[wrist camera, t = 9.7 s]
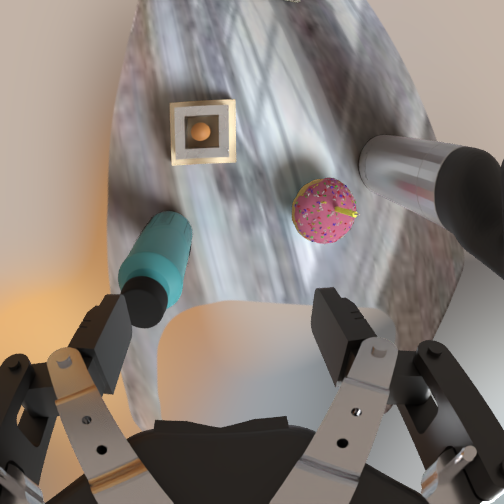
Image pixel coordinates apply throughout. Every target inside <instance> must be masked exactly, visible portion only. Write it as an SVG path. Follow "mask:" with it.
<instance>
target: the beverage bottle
mask: <svg viewBox="0 0 504 504" xmlns="http://www.w3.org/2000/svg"><path fill="white" fill-rule="evenodd" d="M189 223H190V222H188V221H187V219H186V218H185V217H183V216H182V215H181V214H179V213H176V212H172V211H165V212H160V213H159V214H157V215H155V216H154V217H152V218H151V220H150V221H149V223H148V225H147V224H146V225H147V226H146V227H144V228H145V229H144V231H143V230H142V231H143V232H142V233H140V234H141V235H140V237H139V236H138V237H139V238H138V240H137V239H136V240H137V241H136V243H135V244H134V246H133V248H132V250H131V251H130V253H129V255H128V256H127V258H126V259H125V261H124V262H123V263H122V265H121V267H120V269H119V273H118V282H119V287H120V290H121V294H122V295H124V297H125V300H126V304H127V309H128V313H129V317H130V321H131V325H133V326H135V327H138V328H150V327H153V326H155V325H157V324H158V323H159V322H160V321H161V319H162V317H163V315H164V312H165V311H166V309H167V308H169V307H171V306H172V305H174V304H175V303H176V302H177V300H178V299H179V297H180V295H181V293H182V288H183V279H184V274H185V272H186V271H185V269H186V265H187V261H188V256H189V255H190V251H189V250H191V246H190V245H192V244H191V240H192V237H193V236H192V228H191V226H190V224H189ZM189 257H190V256H189ZM188 264H189V263H188Z"/></svg>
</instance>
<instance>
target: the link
mask: <svg viewBox="0 0 504 504" xmlns="http://www.w3.org/2000/svg"><path fill="white" fill-rule="evenodd" d="M213 116H219V146H214V147H194V148H188V118H193V117H213ZM174 117H175V152H176V160H178V159H193V158H213V157H229V105H207V106H189V107H176V108H174Z"/></svg>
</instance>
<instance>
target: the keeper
mask: <svg viewBox="0 0 504 504" xmlns="http://www.w3.org/2000/svg"><path fill="white" fill-rule="evenodd" d="M207 105H229V157H213V158H193V159H178V160H176V152H175V117H174V108H176V107H189V106H207ZM170 134H171V158H172V166H174V165H188V164H206V163H229V162H236V114H235V99H232V100H204V101H188V102H176V103H170ZM214 146H219V116H213V117H193V118H188V148H194V147H214Z"/></svg>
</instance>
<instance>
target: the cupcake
mask: <svg viewBox="0 0 504 504" xmlns="http://www.w3.org/2000/svg"><path fill="white" fill-rule="evenodd" d="M356 211H357V210H356V202H355V200H354V197H353V194H352V193H351V192H350V190H349V189H348V188H347V186H346V185H344V184H343V183H341V182H340V181H339V180H337V179H334V178H325V179H316V180H313V181H311V182H310V183H307V184H306V185H304V186H303V187H302V188H301V189H300V191H299V192H298V194H297V196H296V198H295V199H294V201H293V204H292V221H293V223H294V225H295V227H296V229H297V231H298V232H299V233H300V234H301V235H302V236H303V237H304V238H306V239H308V240H310V241H312V242H316V243H333V242H336V241H337V240H339V239H340V238H341V237H344V236H345V234H346V233H347V232H348V231H349V229H350V230H351V226H352V224H353V223H354V219H355V217H357V215H358V216H359V215H360V214H357V212H356Z"/></svg>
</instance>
